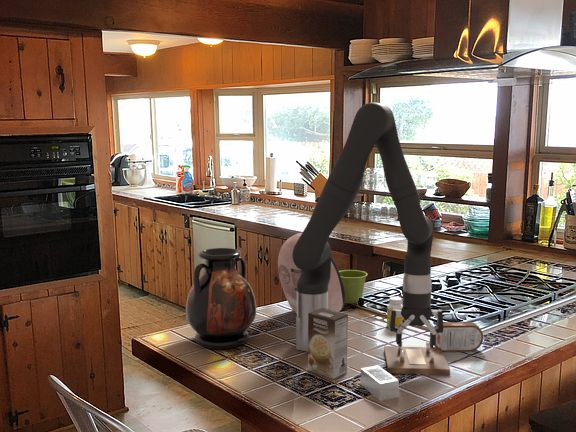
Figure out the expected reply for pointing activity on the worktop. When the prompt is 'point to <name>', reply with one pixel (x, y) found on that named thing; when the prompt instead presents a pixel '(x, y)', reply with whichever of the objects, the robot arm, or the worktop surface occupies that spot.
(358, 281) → the plant pot
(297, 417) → the worktop surface
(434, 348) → the pin tray
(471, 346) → the tin
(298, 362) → the worktop surface
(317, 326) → the coffee box
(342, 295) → the pink rounded upright piece
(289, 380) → the worktop surface
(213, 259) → the amphora vase
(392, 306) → the supplement bottle
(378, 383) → the white rectangular box
